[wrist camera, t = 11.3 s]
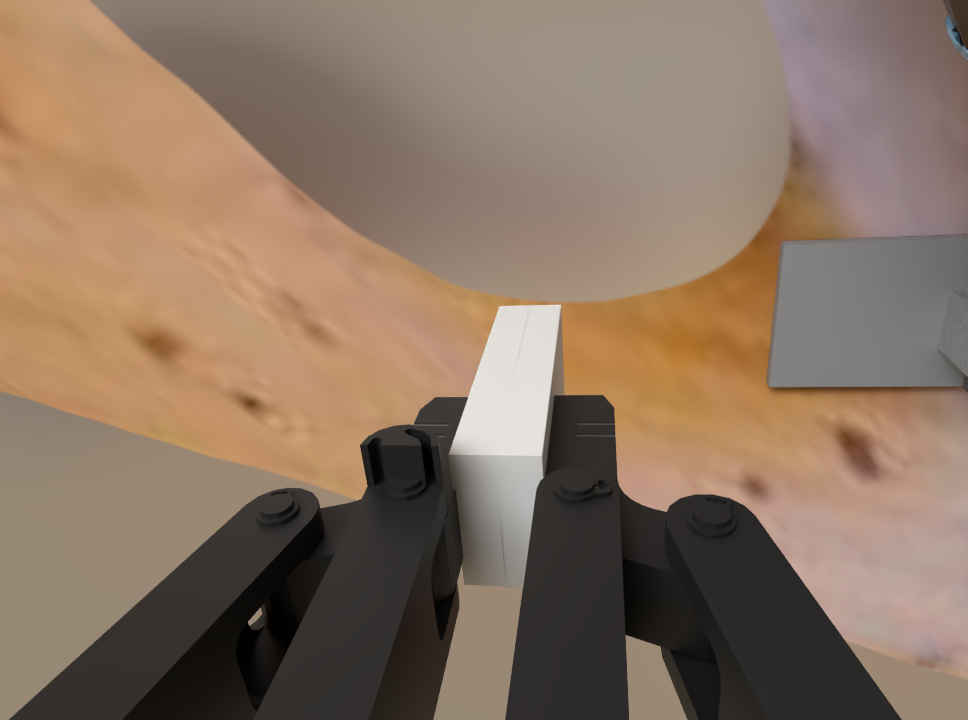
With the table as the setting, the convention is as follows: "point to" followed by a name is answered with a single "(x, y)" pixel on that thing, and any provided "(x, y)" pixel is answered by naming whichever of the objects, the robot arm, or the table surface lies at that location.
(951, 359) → the grey block
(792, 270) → the grey angular piece
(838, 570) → the table surface
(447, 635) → the robot arm
